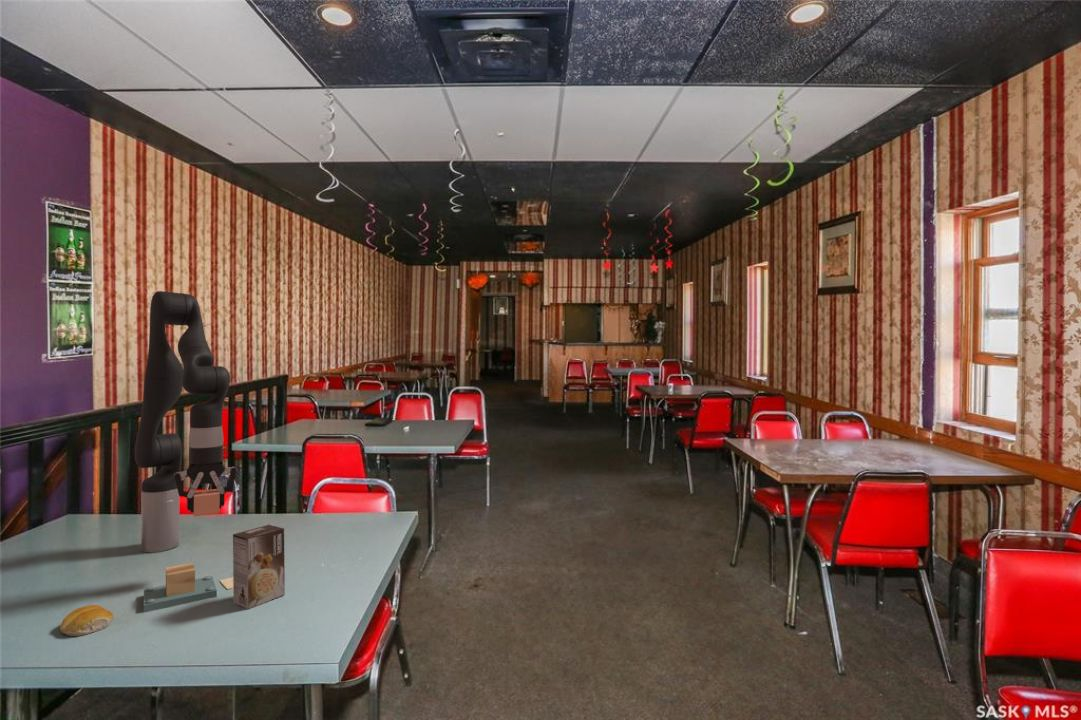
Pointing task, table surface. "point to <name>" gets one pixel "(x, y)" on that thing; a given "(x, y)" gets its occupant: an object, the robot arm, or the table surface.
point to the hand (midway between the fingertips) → (205, 509)
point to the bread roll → (86, 620)
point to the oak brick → (180, 579)
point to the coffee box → (258, 566)
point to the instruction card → (227, 583)
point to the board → (159, 599)
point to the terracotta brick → (206, 502)
